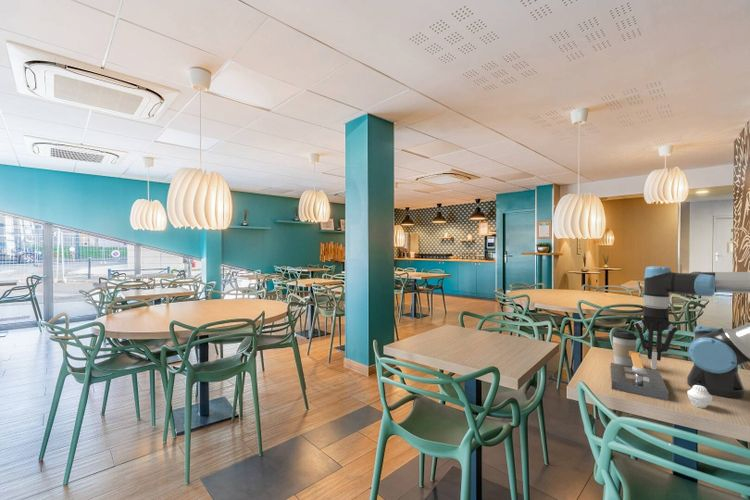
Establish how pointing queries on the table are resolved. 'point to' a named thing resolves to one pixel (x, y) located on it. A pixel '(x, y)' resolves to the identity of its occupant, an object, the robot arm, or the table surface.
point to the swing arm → (637, 363)
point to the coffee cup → (623, 347)
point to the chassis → (638, 381)
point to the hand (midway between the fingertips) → (653, 368)
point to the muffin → (699, 396)
